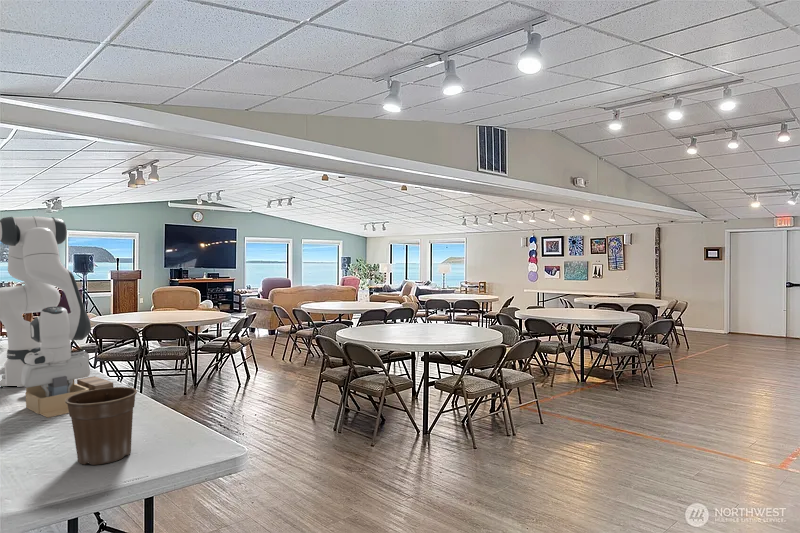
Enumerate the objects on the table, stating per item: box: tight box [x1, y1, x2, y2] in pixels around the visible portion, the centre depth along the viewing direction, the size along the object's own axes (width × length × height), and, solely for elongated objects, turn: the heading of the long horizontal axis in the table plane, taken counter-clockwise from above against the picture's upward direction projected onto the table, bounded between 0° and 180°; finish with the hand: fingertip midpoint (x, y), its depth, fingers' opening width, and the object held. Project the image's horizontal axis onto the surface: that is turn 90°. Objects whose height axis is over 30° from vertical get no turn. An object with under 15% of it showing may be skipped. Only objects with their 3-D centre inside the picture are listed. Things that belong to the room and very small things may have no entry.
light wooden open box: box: [25, 379, 89, 419], centre depth 188 cm, size 20×16×13 cm
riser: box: [76, 375, 114, 391], centre depth 200 cm, size 16×6×6 cm, turn 50°
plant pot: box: [65, 386, 138, 466], centre depth 143 cm, size 16×16×16 cm
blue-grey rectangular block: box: [48, 376, 68, 396], centre depth 190 cm, size 6×4×10 cm, turn 50°
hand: (57, 394), depth 191 cm, fingers closed on blue-grey rectangular block, 4 cm apart
